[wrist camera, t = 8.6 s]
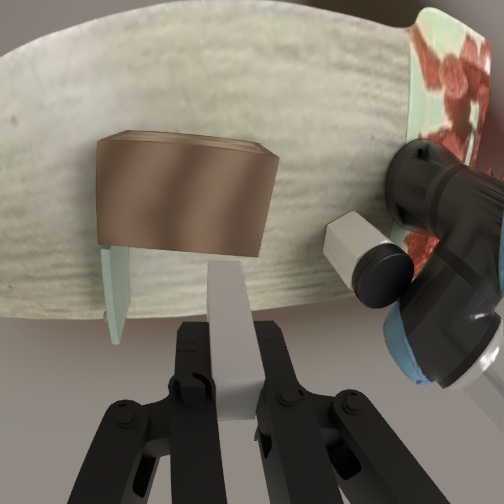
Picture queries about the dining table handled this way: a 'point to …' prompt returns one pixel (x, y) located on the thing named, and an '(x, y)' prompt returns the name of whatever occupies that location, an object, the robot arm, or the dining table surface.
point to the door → (115, 288)
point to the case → (183, 192)
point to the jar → (367, 260)
